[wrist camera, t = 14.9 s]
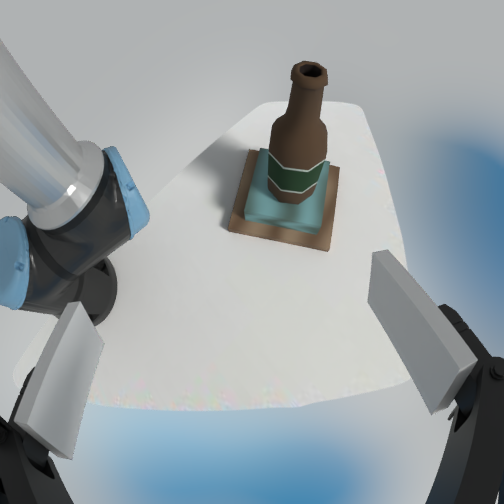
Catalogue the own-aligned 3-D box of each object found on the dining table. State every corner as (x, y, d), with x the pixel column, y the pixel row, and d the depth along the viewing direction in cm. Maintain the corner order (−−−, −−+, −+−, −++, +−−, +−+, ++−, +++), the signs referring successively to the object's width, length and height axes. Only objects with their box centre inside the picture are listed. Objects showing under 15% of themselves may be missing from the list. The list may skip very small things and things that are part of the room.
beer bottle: (274, 212, 45) (284, 102, 22) (260, 169, 47) (258, 51, 24) (321, 200, 45) (365, 93, 22) (305, 160, 47) (331, 45, 24)
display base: (228, 231, 50) (225, 219, 45) (249, 153, 54) (248, 136, 49) (327, 251, 49) (335, 242, 44) (337, 171, 53) (344, 155, 48)
